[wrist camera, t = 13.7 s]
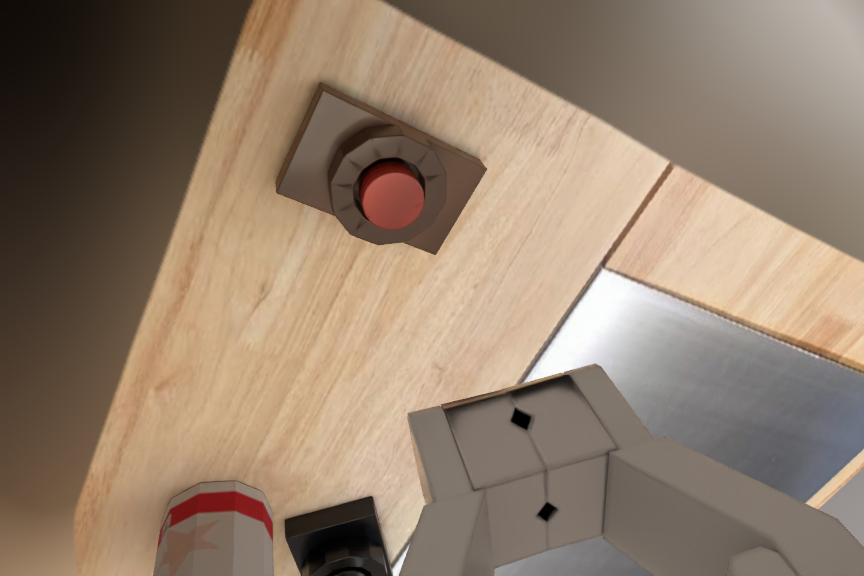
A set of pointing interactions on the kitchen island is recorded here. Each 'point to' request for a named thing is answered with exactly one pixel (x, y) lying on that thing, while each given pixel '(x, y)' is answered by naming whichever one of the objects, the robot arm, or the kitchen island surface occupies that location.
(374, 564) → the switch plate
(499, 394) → the robot arm
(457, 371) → the kitchen island surface
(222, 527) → the spray bottle
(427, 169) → the block
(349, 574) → the switch button
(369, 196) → the bell button
